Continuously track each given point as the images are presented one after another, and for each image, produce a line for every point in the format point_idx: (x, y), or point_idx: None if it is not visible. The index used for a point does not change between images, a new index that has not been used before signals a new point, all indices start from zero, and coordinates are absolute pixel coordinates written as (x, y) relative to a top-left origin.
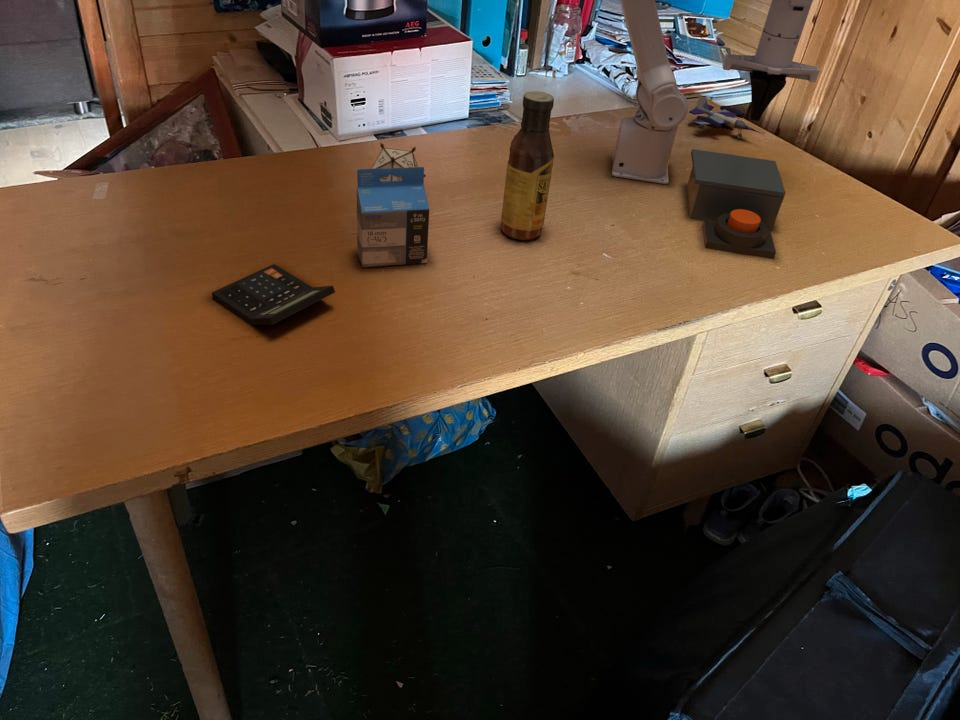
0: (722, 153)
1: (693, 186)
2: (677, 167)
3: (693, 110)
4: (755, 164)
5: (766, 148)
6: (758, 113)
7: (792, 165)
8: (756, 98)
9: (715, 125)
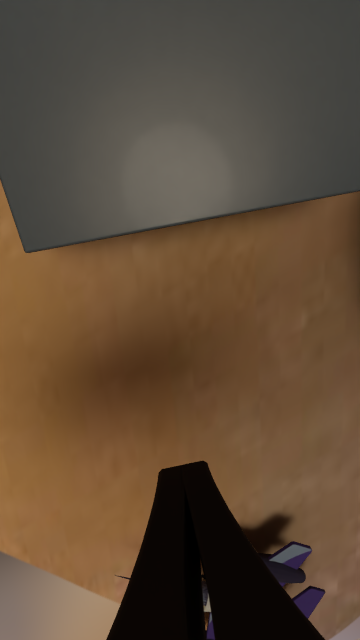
0: (278, 201)
1: None
2: (330, 317)
3: (313, 602)
4: (110, 141)
5: (111, 544)
6: (180, 497)
7: (32, 493)
8: (259, 594)
9: None
